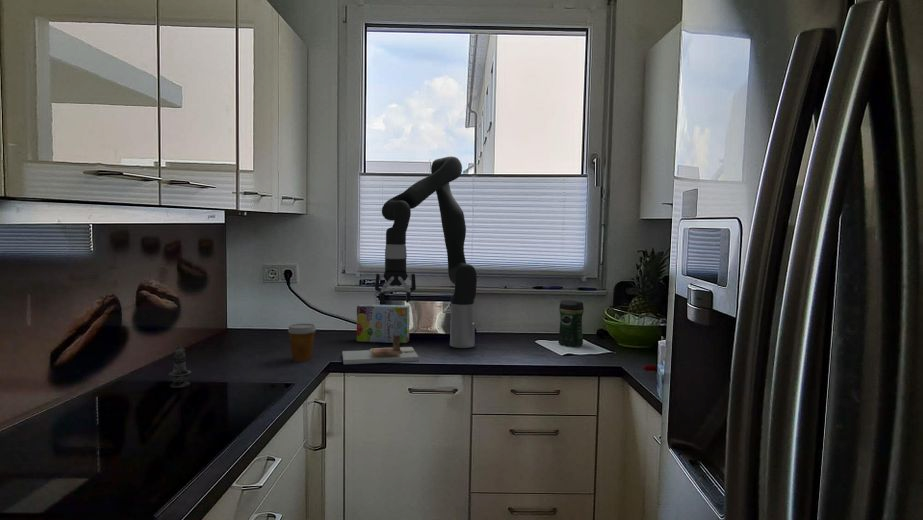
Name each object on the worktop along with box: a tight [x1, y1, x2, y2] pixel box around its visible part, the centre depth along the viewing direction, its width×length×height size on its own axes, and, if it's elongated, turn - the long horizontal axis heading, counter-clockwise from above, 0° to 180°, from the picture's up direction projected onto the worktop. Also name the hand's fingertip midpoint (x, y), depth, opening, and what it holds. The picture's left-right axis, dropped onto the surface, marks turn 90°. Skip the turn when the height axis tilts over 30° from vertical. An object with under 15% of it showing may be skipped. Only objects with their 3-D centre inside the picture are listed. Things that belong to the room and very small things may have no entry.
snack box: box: [356, 303, 410, 344], centre depth 214 cm, size 21×6×15 cm, turn 84°
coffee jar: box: [557, 299, 585, 348], centre depth 214 cm, size 10×8×19 cm
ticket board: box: [341, 346, 420, 365], centre depth 187 cm, size 26×13×2 cm, turn 105°
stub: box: [372, 333, 402, 355], centre depth 184 cm, size 10×5×6 cm, turn 105°
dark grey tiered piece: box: [168, 343, 192, 389], centre depth 151 cm, size 6×6×12 cm
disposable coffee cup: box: [287, 323, 317, 363], centre depth 182 cm, size 10×10×12 cm
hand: (395, 302), depth 184 cm, fingers open, 8 cm apart
